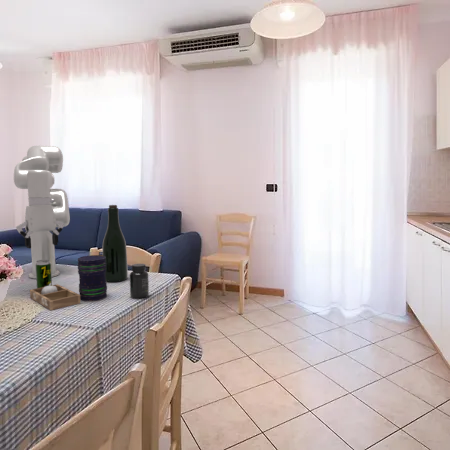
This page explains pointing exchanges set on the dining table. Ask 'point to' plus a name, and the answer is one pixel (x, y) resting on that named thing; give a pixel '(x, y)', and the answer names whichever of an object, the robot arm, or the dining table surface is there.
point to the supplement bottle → (139, 282)
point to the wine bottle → (114, 248)
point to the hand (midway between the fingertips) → (42, 246)
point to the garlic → (49, 289)
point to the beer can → (43, 273)
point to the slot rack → (55, 297)
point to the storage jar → (92, 277)
